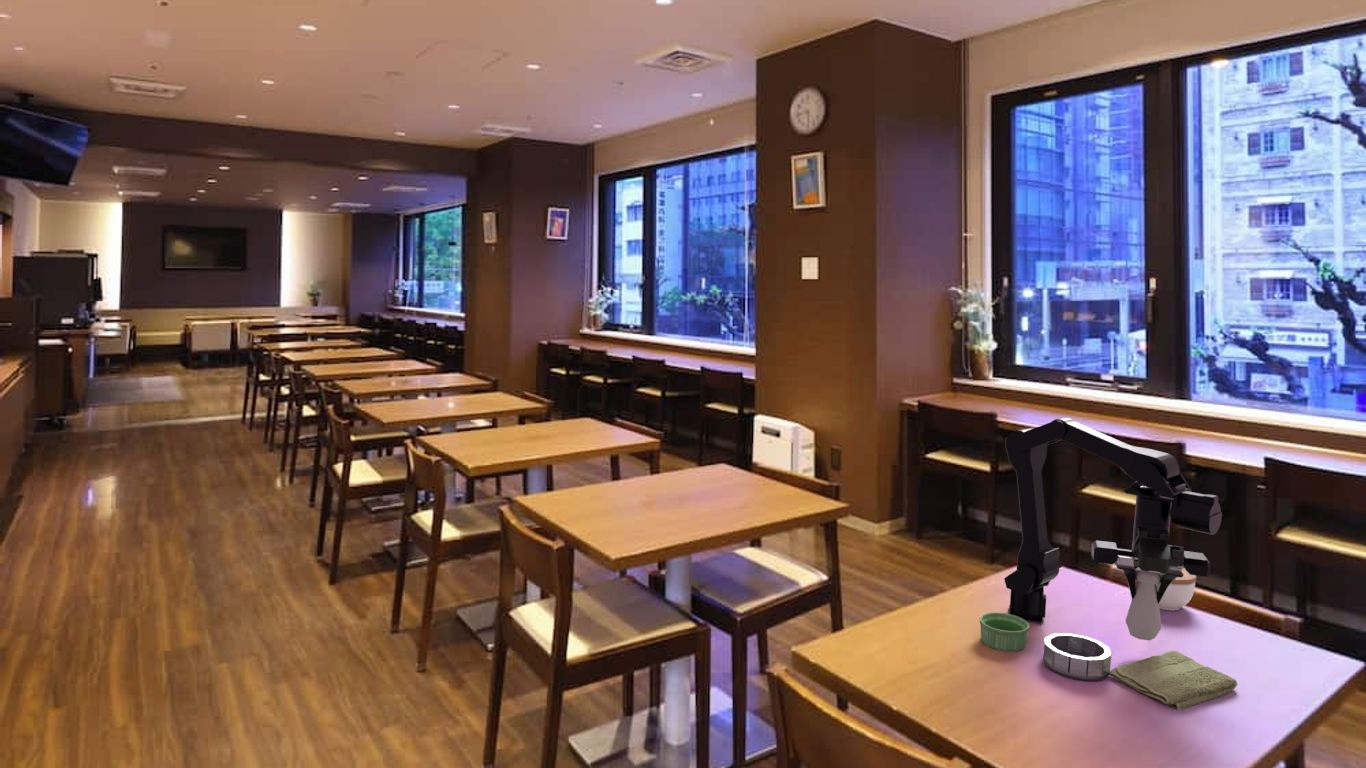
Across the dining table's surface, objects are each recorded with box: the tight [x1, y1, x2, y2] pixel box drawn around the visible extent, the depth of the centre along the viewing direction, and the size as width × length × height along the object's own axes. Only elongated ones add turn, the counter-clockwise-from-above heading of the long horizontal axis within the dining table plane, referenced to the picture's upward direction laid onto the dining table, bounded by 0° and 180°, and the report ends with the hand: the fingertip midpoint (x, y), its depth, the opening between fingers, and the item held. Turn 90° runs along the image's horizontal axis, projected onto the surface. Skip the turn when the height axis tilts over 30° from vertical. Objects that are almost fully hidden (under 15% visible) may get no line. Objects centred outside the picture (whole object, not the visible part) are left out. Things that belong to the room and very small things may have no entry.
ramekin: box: [979, 612, 1030, 653], centre depth 158 cm, size 9×9×4 cm
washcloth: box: [1109, 650, 1239, 710], centre depth 142 cm, size 13×18×3 cm
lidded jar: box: [1156, 567, 1197, 612], centre depth 177 cm, size 11×11×9 cm
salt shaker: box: [1125, 566, 1162, 641], centre depth 152 cm, size 6×6×13 cm
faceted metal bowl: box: [1042, 632, 1112, 683], centre depth 148 cm, size 11×11×4 cm
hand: (1144, 602), depth 152 cm, fingers closed on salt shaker, 3 cm apart
